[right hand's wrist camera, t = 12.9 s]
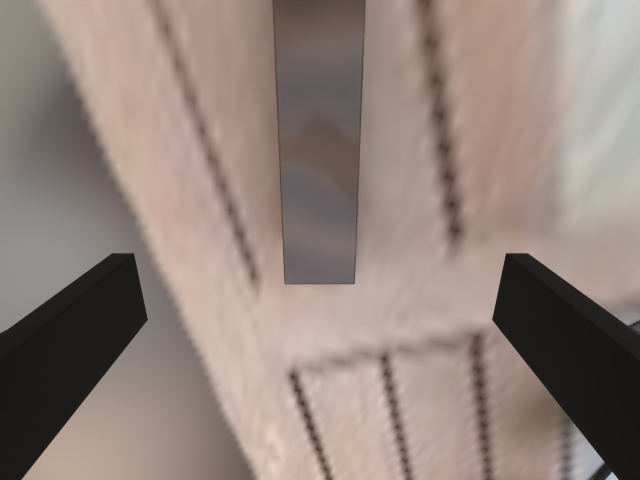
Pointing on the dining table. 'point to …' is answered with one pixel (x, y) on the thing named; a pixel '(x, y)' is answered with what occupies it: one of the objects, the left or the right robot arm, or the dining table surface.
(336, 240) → the post
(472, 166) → the dining table surface
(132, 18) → the dining table surface
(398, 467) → the dining table surface
